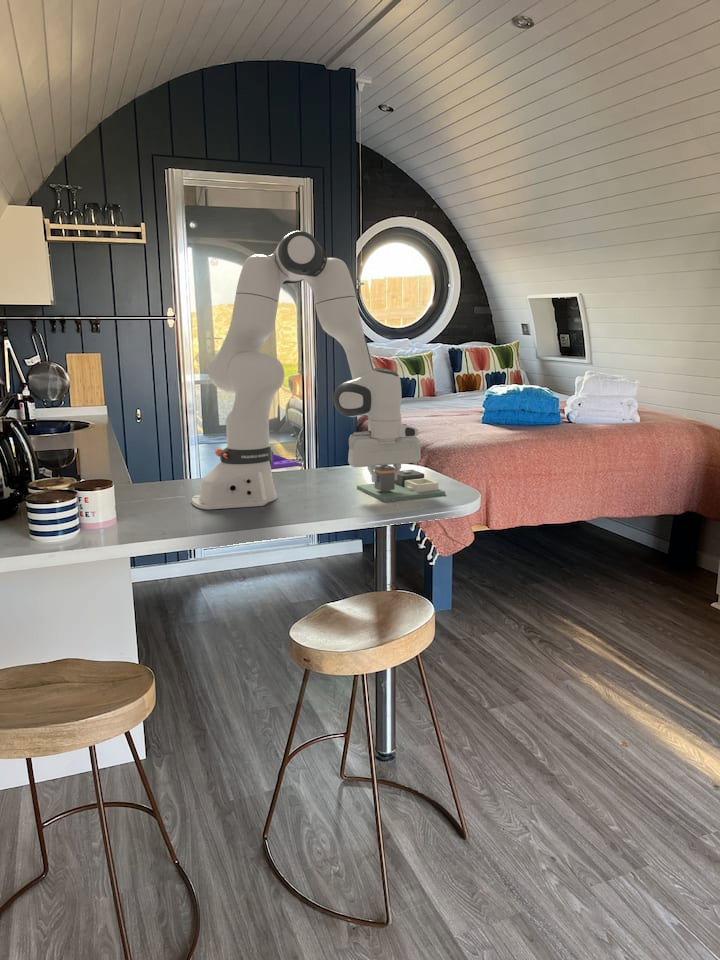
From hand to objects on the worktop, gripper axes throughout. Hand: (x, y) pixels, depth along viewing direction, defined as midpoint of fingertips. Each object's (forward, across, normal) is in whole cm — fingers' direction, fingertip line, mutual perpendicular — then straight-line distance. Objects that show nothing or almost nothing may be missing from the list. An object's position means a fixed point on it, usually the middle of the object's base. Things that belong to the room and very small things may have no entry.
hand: (384, 481), depth 201 cm
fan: (+3, +10, +7) cm, 13 cm away
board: (+4, +6, +2) cm, 7 cm away
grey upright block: (+2, 0, 0) cm, 2 cm away
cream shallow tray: (+4, +11, -1) cm, 11 cm away
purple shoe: (+4, -13, +51) cm, 52 cm away
